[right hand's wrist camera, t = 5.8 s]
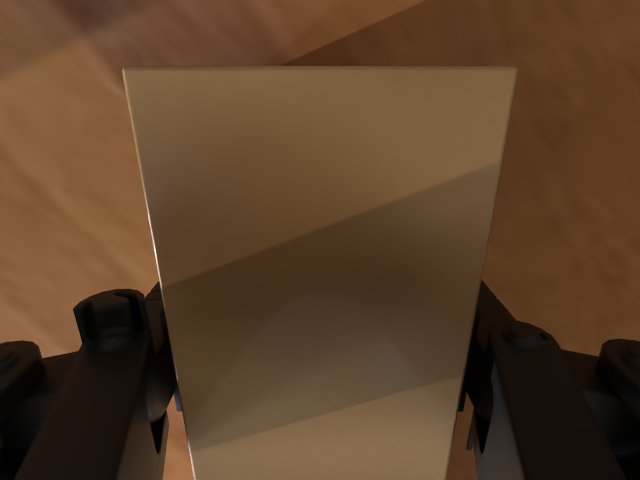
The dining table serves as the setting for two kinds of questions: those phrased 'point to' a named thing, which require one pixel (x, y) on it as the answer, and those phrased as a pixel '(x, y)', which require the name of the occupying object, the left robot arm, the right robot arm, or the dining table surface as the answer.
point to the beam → (320, 257)
